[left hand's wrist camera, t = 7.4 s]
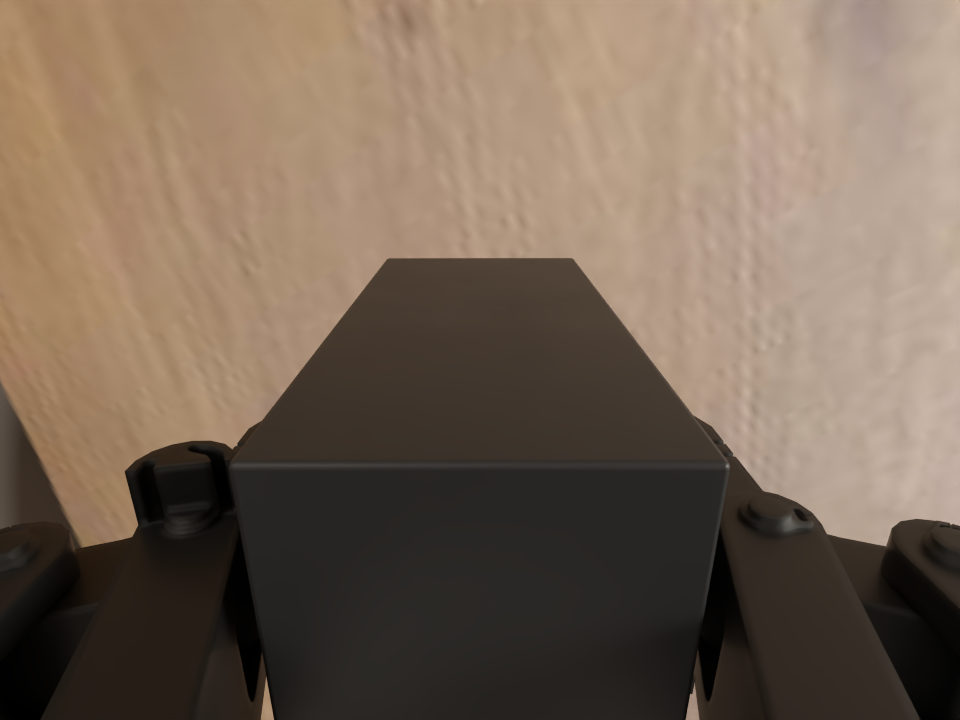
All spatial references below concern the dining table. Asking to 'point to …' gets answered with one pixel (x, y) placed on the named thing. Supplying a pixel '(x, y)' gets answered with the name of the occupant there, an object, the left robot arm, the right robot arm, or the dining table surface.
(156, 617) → the left robot arm
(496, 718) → the bar
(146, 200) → the dining table surface
